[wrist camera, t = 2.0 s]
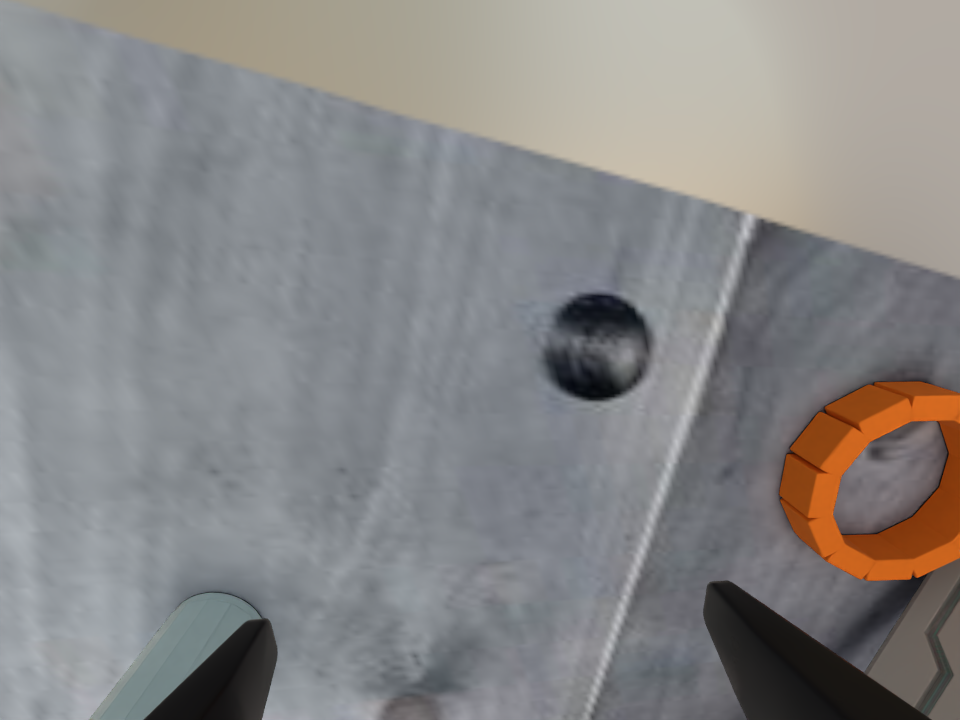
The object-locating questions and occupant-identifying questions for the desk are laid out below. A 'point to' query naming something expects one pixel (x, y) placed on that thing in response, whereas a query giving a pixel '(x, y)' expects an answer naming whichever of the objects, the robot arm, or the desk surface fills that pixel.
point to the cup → (174, 654)
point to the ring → (833, 448)
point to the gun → (926, 648)
